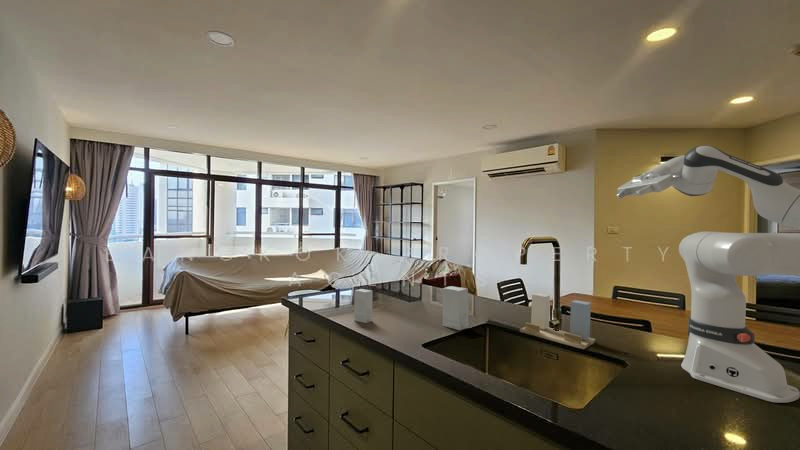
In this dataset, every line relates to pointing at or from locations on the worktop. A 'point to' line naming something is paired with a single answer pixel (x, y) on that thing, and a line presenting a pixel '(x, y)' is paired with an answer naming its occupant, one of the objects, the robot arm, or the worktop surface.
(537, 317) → the ivory key
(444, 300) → the skincare box
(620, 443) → the worktop surface
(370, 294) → the skincare box
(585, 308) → the slate blue key
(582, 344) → the switch base
